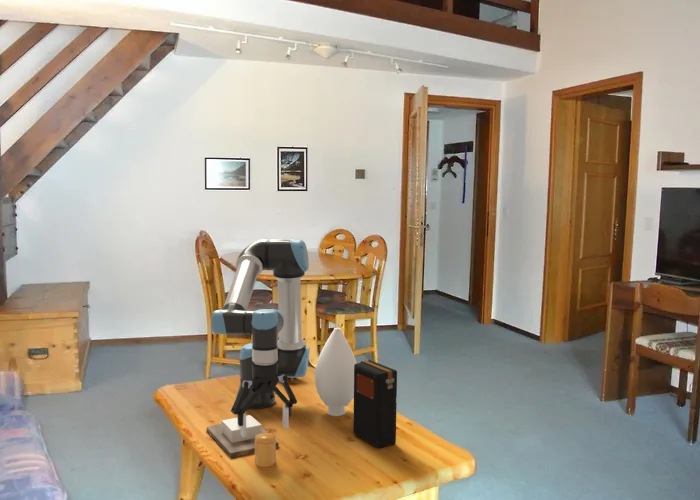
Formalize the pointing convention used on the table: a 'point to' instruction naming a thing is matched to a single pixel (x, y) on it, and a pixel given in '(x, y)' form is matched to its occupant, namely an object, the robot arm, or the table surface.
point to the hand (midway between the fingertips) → (264, 431)
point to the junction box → (234, 430)
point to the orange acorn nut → (265, 449)
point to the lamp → (335, 373)
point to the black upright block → (375, 403)
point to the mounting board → (235, 447)
